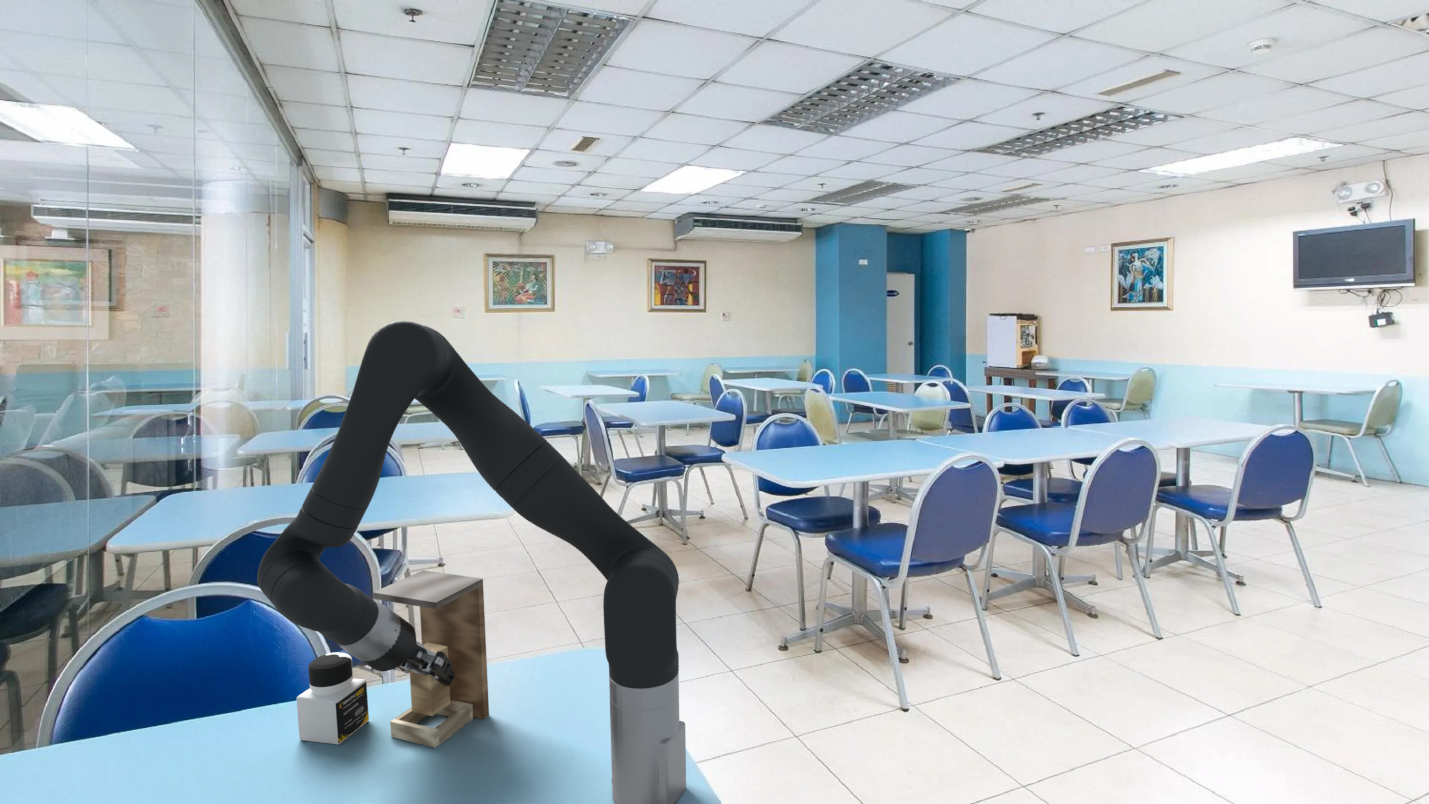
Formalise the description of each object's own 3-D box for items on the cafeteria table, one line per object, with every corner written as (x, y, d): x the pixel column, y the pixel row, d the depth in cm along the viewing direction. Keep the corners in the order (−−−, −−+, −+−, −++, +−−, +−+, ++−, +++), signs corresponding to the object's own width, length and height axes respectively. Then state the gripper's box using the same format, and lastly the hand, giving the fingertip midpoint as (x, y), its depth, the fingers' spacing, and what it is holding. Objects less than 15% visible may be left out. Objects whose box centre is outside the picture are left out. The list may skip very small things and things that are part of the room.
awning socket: (489, 715, 120) (482, 578, 118) (443, 750, 111) (435, 602, 108) (430, 702, 125) (423, 570, 122) (381, 735, 115) (372, 592, 112)
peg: (450, 703, 118) (447, 646, 117) (432, 716, 114) (429, 657, 113) (430, 699, 119) (427, 642, 118) (411, 711, 115) (408, 653, 114)
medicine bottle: (339, 745, 112) (334, 670, 111) (298, 740, 114) (292, 666, 112) (370, 720, 119) (365, 649, 118) (331, 716, 121) (326, 646, 119)
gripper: (427, 616, 105) (485, 661, 118) (351, 603, 110) (415, 647, 123) (401, 668, 101) (464, 709, 113) (323, 652, 106) (392, 693, 118)
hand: (438, 677), depth 118 cm, fingers closed on peg, 4 cm apart
